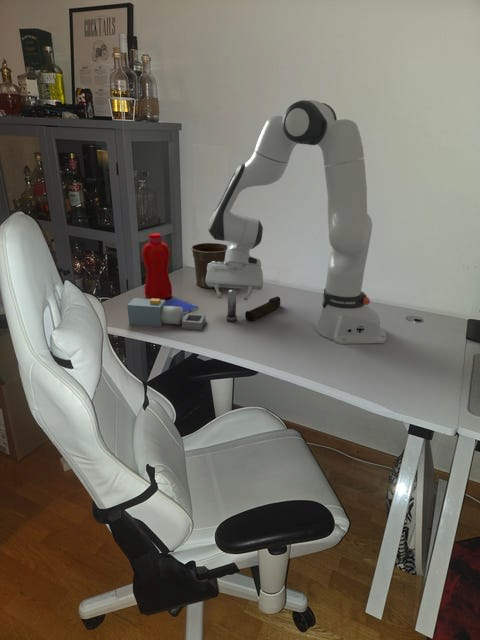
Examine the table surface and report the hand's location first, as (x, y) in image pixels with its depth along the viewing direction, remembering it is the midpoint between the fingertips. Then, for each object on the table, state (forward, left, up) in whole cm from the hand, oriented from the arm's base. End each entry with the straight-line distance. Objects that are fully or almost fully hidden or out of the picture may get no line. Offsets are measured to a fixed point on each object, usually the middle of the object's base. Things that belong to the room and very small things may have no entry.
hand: (232, 298), depth 140 cm
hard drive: (+21, -7, -8) cm, 23 cm away
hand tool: (-11, -7, -8) cm, 15 cm away
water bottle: (+32, -16, -8) cm, 36 cm away
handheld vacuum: (+21, +7, -7) cm, 24 cm away
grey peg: (0, +1, -7) cm, 8 cm away
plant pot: (+14, -35, -8) cm, 38 cm away
